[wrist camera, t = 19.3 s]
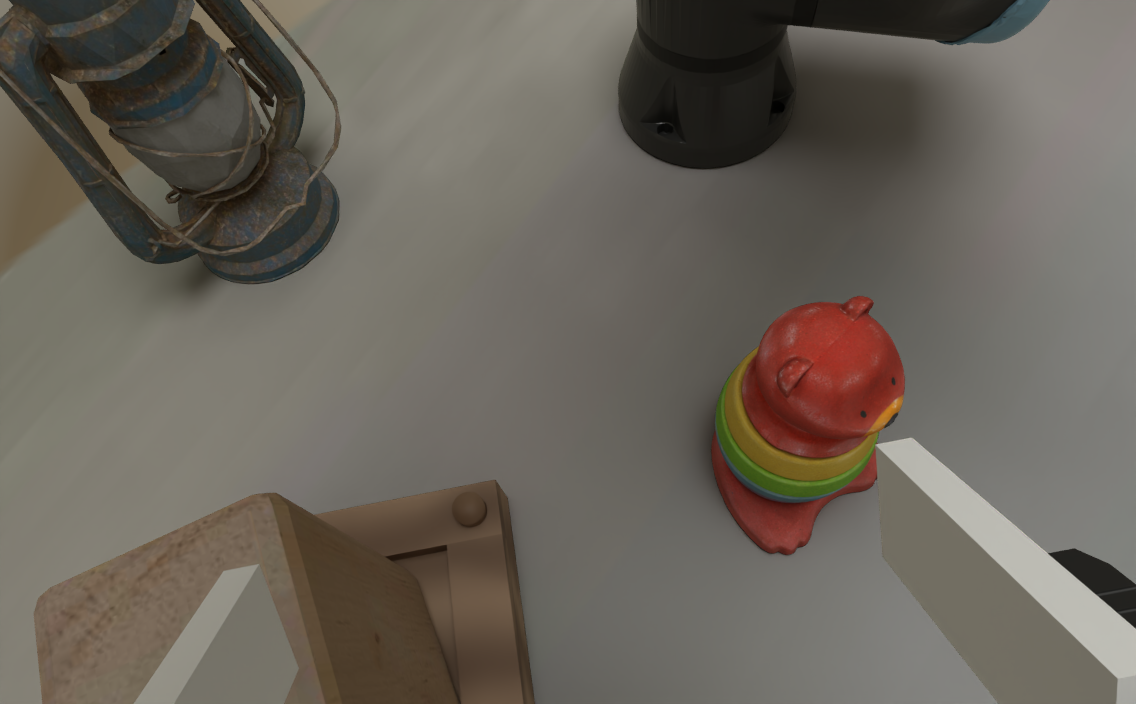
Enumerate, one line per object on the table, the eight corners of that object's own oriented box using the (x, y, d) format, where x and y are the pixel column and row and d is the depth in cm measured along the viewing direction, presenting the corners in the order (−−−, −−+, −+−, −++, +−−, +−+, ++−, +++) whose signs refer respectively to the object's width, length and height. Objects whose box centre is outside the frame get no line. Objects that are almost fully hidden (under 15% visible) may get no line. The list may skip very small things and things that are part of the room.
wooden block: (473, 729, 42) (341, 739, 24) (308, 812, 41) (44, 888, 23) (416, 567, 46) (269, 476, 29) (267, 639, 45) (17, 591, 28)
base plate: (227, 552, 51) (182, 535, 46) (507, 498, 51) (492, 475, 46) (211, 900, 42) (153, 925, 37) (552, 836, 42) (539, 853, 37)
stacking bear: (777, 569, 47) (841, 496, 31) (672, 453, 51) (681, 335, 35) (895, 466, 49) (1011, 347, 33) (785, 362, 53) (841, 213, 37)
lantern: (282, 121, 69) (49, -251, 43) (404, 170, 65) (230, -209, 38) (141, 280, 63) (-239, -43, 36) (266, 346, 58) (-59, 36, 32)
